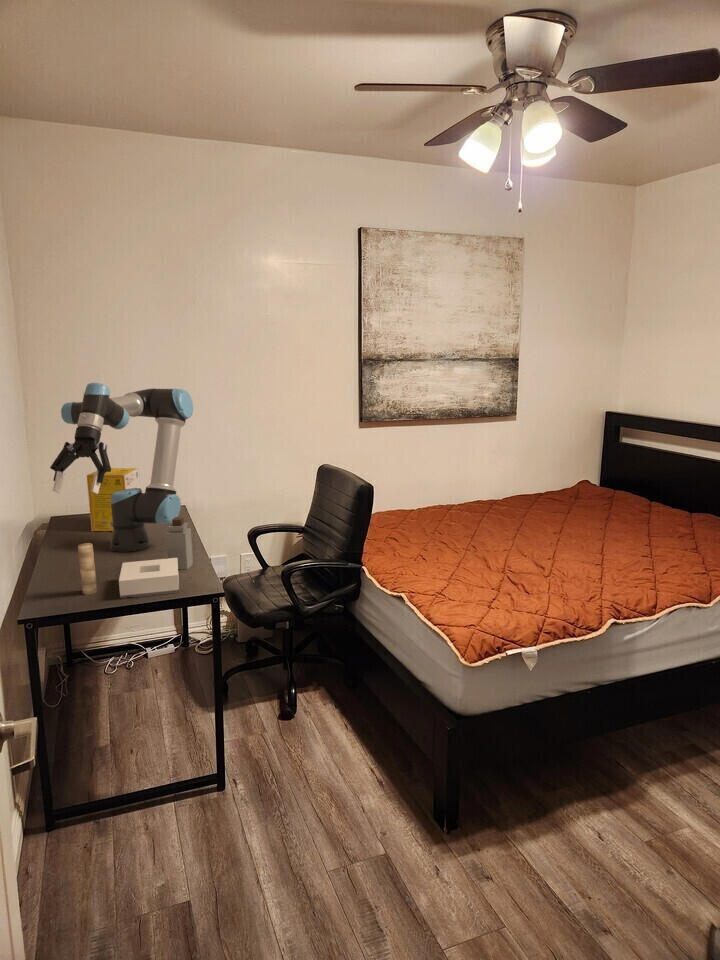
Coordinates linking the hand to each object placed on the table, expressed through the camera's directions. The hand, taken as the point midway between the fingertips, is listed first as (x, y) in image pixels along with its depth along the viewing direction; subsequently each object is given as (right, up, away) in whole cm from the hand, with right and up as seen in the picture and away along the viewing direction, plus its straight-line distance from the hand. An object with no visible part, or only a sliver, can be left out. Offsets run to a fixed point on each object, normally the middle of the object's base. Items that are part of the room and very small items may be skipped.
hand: (75, 492), depth 199 cm
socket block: (+19, -31, +14) cm, 39 cm away
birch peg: (+1, -33, +9) cm, 34 cm away
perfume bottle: (+24, -28, +32) cm, 49 cm away
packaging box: (-18, -17, +84) cm, 87 cm away
